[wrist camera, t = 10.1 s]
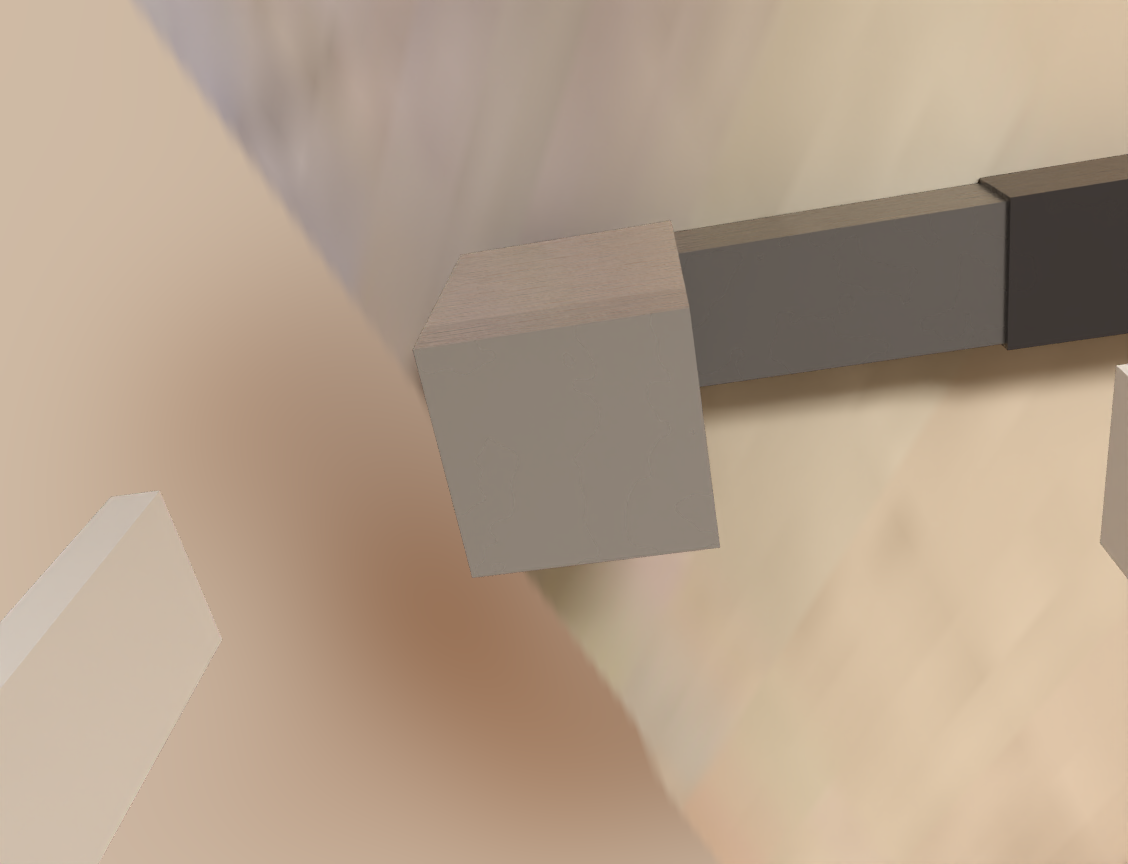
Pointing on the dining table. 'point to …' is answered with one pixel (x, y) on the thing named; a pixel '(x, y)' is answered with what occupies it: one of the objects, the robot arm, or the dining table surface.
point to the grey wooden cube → (570, 402)
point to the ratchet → (913, 274)
